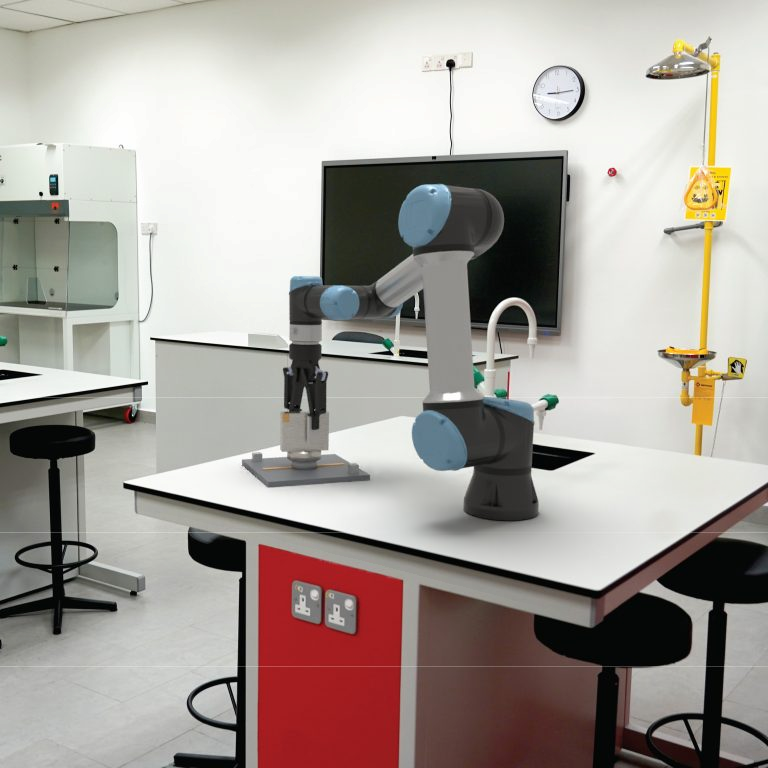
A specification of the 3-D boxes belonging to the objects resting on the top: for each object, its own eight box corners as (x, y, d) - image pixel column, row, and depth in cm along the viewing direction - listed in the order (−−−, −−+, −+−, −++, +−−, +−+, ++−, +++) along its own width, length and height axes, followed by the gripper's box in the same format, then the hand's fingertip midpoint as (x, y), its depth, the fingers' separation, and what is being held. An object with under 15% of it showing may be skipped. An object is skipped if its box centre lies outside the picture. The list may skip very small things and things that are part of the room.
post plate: (369, 479, 207) (370, 466, 207) (268, 487, 198) (268, 473, 198) (335, 458, 229) (335, 446, 229) (242, 464, 220) (242, 451, 220)
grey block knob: (323, 453, 219) (324, 409, 217) (330, 460, 211) (331, 414, 210) (278, 455, 216) (278, 409, 214) (283, 462, 208) (284, 415, 207)
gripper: (268, 340, 214) (267, 438, 216) (319, 346, 201) (318, 449, 204) (292, 339, 219) (292, 434, 222) (343, 344, 206) (342, 445, 209)
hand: (304, 441), depth 213 cm, fingers closed on grey block knob, 5 cm apart
